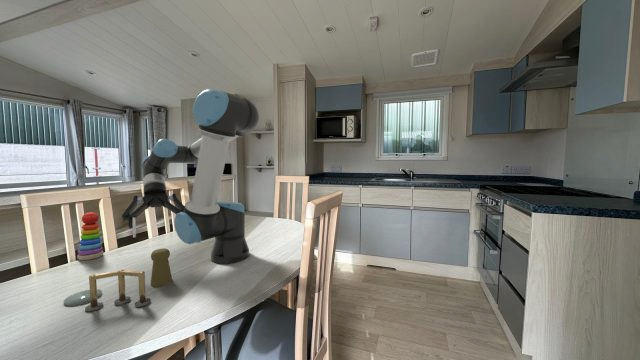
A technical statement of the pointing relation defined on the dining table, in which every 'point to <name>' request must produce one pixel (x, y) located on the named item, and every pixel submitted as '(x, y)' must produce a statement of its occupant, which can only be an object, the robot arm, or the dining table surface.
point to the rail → (121, 282)
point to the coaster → (80, 298)
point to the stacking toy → (90, 238)
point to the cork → (160, 268)
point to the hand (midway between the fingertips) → (158, 232)
